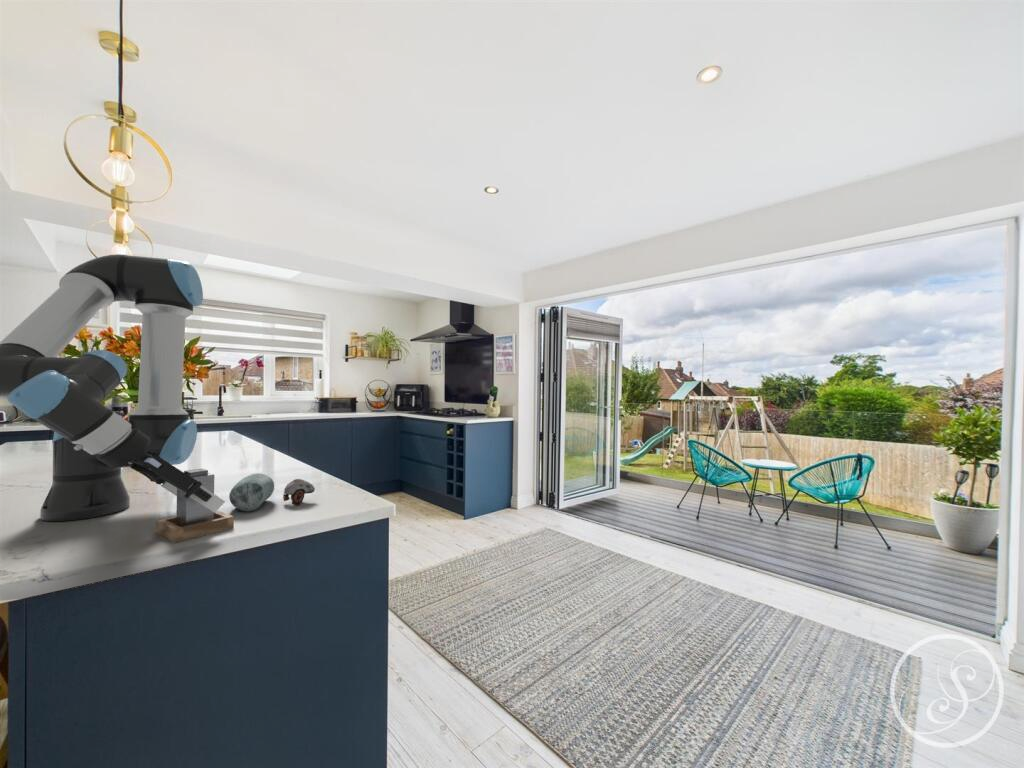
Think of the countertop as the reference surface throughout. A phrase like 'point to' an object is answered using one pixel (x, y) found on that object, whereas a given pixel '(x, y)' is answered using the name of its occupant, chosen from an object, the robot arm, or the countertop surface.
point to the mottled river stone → (251, 492)
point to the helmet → (297, 490)
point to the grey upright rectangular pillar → (191, 509)
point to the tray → (193, 527)
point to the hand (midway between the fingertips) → (205, 502)
